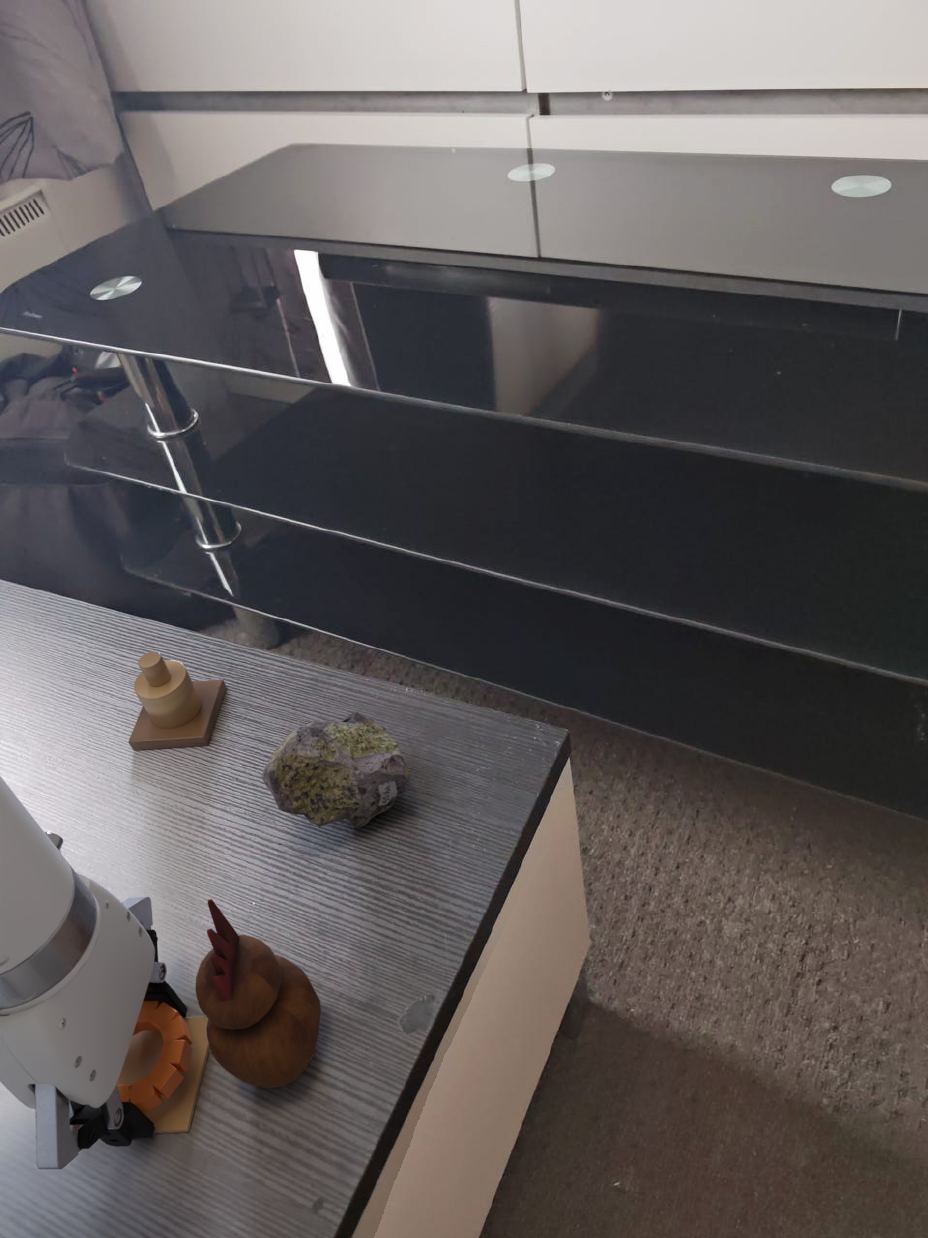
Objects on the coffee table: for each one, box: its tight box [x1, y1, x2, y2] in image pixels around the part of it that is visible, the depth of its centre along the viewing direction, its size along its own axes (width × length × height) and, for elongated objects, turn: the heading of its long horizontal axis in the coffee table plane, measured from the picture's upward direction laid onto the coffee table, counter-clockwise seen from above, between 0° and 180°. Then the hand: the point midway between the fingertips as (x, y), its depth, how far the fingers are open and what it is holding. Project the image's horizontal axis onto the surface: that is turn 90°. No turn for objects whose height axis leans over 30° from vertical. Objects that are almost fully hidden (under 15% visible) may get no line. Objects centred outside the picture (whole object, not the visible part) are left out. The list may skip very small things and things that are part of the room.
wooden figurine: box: [195, 898, 322, 1089], centre depth 54 cm, size 7×6×15 cm
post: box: [127, 650, 228, 751], centre depth 80 cm, size 7×7×8 cm
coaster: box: [117, 1016, 211, 1133], centre depth 59 cm, size 7×7×1 cm
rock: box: [260, 711, 410, 829], centre depth 69 cm, size 11×10×10 cm
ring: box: [117, 1001, 193, 1113], centre depth 57 cm, size 7×7×1 cm
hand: (148, 1071), depth 59 cm, fingers closed on ring, 6 cm apart
